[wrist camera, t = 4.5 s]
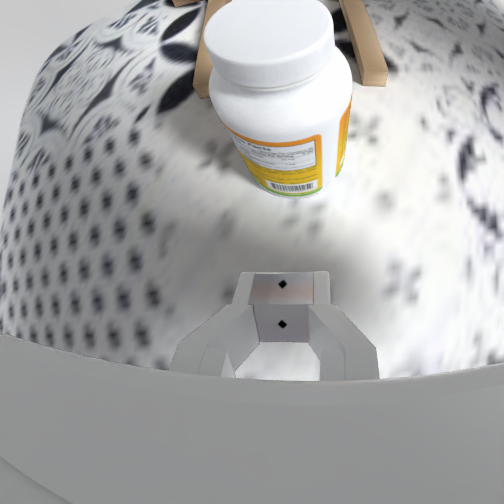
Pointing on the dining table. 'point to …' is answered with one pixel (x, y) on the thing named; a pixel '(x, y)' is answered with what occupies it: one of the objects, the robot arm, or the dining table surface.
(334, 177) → the supplement bottle
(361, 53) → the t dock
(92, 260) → the dining table surface
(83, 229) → the dining table surface
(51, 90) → the dining table surface
